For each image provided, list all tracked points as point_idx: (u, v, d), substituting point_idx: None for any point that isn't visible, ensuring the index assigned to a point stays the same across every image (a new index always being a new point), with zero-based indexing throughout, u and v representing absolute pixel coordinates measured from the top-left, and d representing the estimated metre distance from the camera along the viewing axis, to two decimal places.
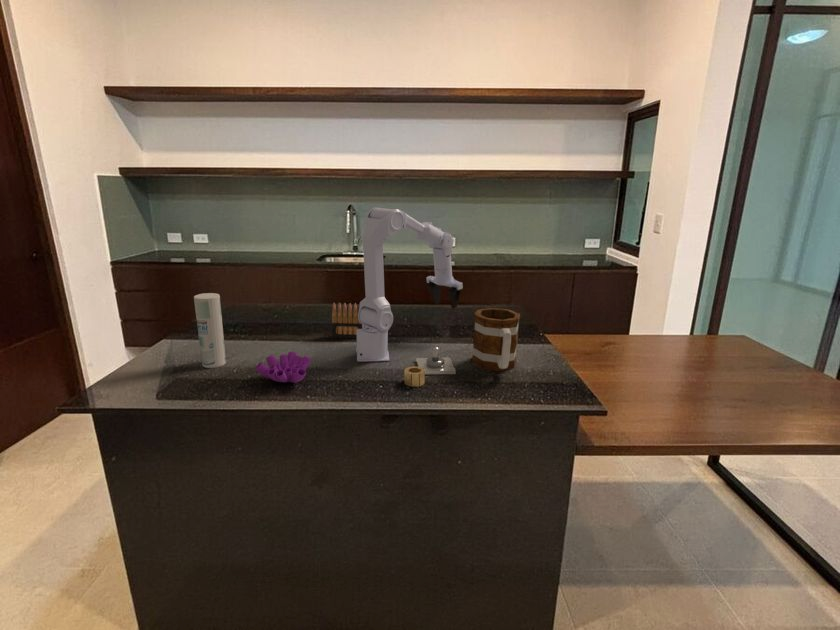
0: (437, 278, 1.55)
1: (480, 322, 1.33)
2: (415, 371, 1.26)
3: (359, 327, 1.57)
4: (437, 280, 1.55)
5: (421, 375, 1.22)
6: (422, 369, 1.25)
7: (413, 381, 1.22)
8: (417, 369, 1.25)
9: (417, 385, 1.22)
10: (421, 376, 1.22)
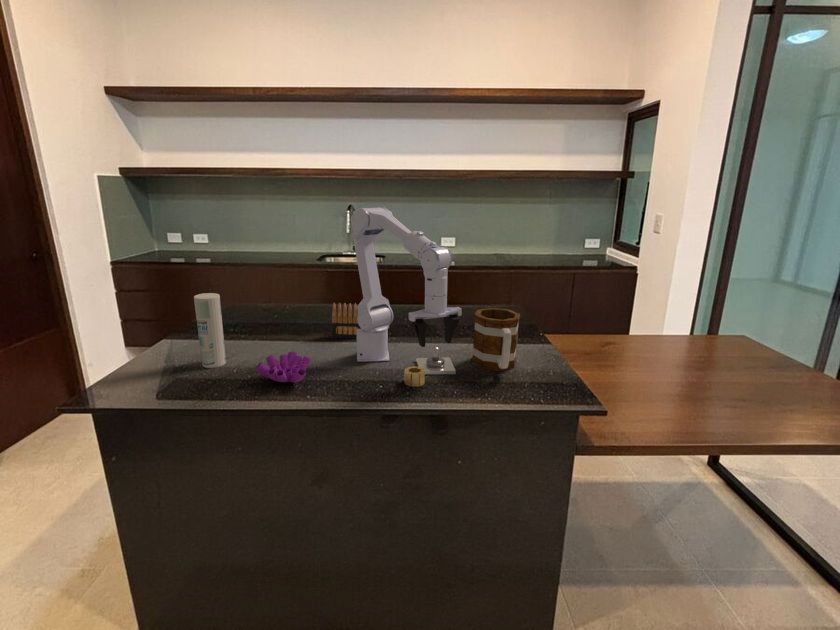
0: None
1: (480, 322, 1.33)
2: (415, 371, 1.26)
3: (359, 327, 1.57)
4: None
5: (421, 375, 1.22)
6: (422, 369, 1.25)
7: (413, 381, 1.22)
8: (417, 369, 1.25)
9: (417, 385, 1.22)
10: (421, 376, 1.22)
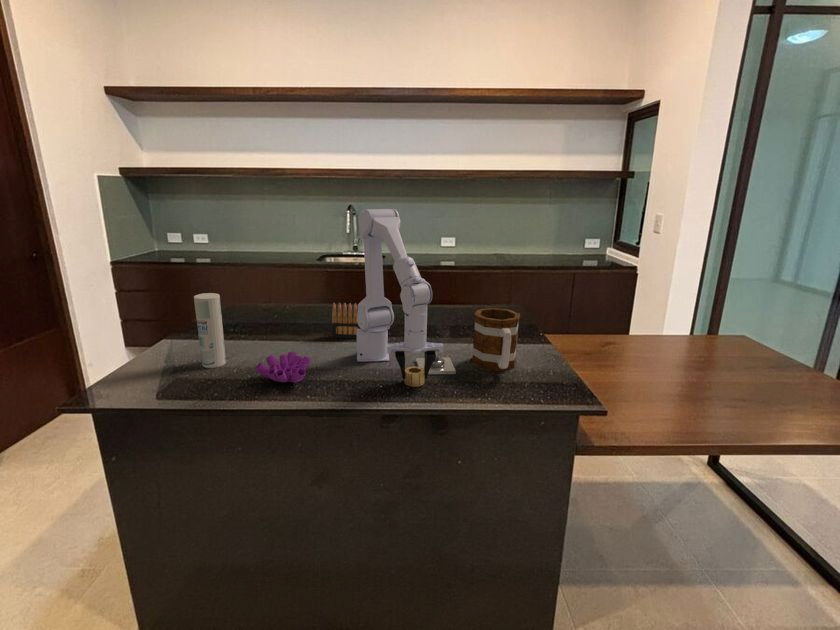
0: None
1: (480, 322, 1.33)
2: (415, 371, 1.26)
3: (359, 327, 1.57)
4: None
5: (421, 375, 1.22)
6: (422, 369, 1.25)
7: (413, 381, 1.22)
8: (417, 369, 1.25)
9: (417, 385, 1.22)
10: (421, 376, 1.22)
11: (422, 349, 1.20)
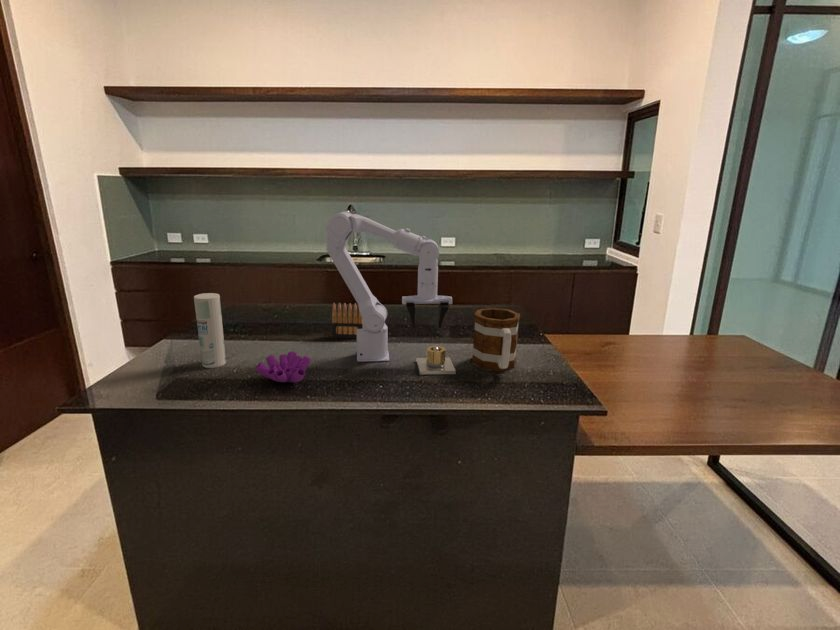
0: None
1: (480, 322, 1.33)
2: None
3: (359, 327, 1.57)
4: None
5: (442, 353, 1.32)
6: (443, 348, 1.34)
7: (435, 358, 1.32)
8: None
9: (439, 362, 1.32)
10: (442, 354, 1.32)
11: (433, 300, 1.34)
